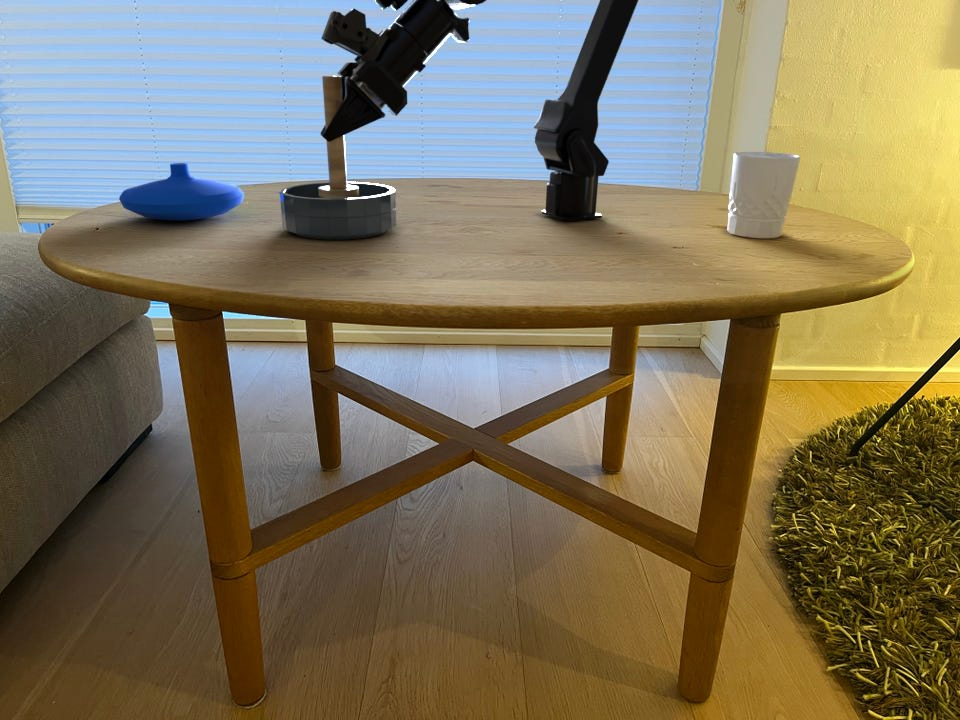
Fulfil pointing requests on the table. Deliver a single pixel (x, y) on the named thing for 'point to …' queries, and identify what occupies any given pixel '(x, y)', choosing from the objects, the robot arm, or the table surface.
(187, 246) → the table surface
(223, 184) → the vase
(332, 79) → the stirring stick
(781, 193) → the white cup
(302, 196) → the bowl
